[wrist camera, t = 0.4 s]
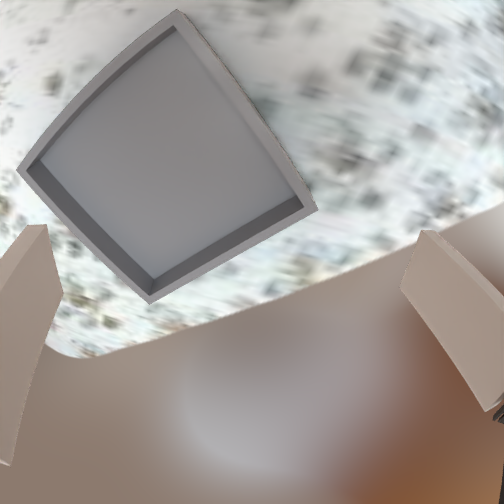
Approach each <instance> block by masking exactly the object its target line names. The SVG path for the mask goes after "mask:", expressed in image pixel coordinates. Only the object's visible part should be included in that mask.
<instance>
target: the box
mask: <svg viewBox="0 0 504 504" xmlns="http://www.w3.org/2000/svg"><path fill="white" fill-rule="evenodd" d="M16 171H17V172H18V173H19V174H20V176H21V177H22V178H23V179H24V180H25V181H26V183H27V184H28V185H29V186H30V187H31V188H32V189H33V191H34V192H35V193H36V194H37V195H38V196H39V197H40V198H41V200H42V201H43V202H44V203H45V204H46V205H47V206H48V207H49V208H50V209H51V211H52V212H53V213H54V214H55V215H56V216H57V217H58V218H59V219H60V220H61V221H62V222H63V223H64V224H65V225H66V226H67V227H68V228H69V229H70V230H71V232H72V233H73V234H74V235H75V236H76V237H77V238H78V239H79V240H80V241H81V242H82V243H83V244H84V245H85V246H86V247H87V248H88V249H89V250H90V251H92V252H93V253H94V254H95V255H96V256H97V257H98V258H99V259H100V260H101V261H102V262H103V263H104V264H105V265H106V266H107V267H108V268H109V269H110V270H111V271H113V272H114V273H115V274H116V275H117V276H118V277H119V278H120V279H121V280H122V281H123V282H124V283H126V284H127V285H128V286H129V287H130V288H131V289H132V290H133V291H135V292H136V293H137V294H138V295H139V296H140V297H141V298H142V299H144V300H145V301H146V302H147V303H148V304H149V305H150V304H151V303H153V302H155V301H157V300H159V299H160V298H162V297H164V296H166V295H167V294H169V293H171V292H173V291H175V290H176V289H178V288H180V287H182V286H183V285H185V284H187V283H189V282H191V281H192V280H194V279H196V278H198V277H199V276H201V275H203V274H205V273H207V272H208V271H210V270H212V269H214V268H215V267H217V266H219V265H221V264H223V263H224V262H226V261H228V260H230V259H232V258H233V257H235V256H237V255H239V254H240V253H242V252H244V251H246V250H248V249H249V248H251V247H253V246H255V245H257V244H258V243H260V242H262V241H264V240H266V239H267V238H269V237H271V236H273V235H274V234H276V233H278V232H280V231H282V230H283V229H285V228H287V227H289V226H291V225H292V224H294V223H296V222H298V221H300V220H301V219H303V218H305V217H307V216H309V215H310V214H312V213H314V212H316V211H318V207H317V205H316V203H315V201H314V199H313V197H312V194H311V192H310V190H309V189H308V187H307V186H306V184H305V182H304V181H303V179H302V178H301V176H300V174H299V173H298V171H297V170H296V168H295V166H294V165H293V163H292V162H291V160H290V159H289V157H288V156H287V154H286V152H285V151H284V149H283V148H282V146H281V145H280V143H279V142H278V140H277V139H276V137H275V136H274V134H273V133H272V131H271V130H270V128H269V127H268V125H267V124H266V122H265V121H264V119H263V118H262V117H261V115H260V114H259V112H258V111H257V109H256V108H255V106H254V105H253V104H252V102H251V101H250V99H249V98H248V96H247V95H246V94H245V92H244V91H243V90H242V88H241V87H240V85H239V84H238V83H237V81H236V80H235V78H234V77H233V76H232V74H231V73H230V72H229V70H228V69H227V68H226V66H225V65H224V64H223V62H222V61H221V60H220V58H219V57H218V56H217V54H216V53H215V52H214V51H213V49H212V48H211V47H210V45H209V44H208V43H207V42H206V40H205V39H204V38H203V37H202V35H201V34H200V33H199V32H198V30H197V29H196V28H195V27H194V25H193V24H192V23H191V22H190V20H189V19H188V18H187V17H186V16H185V14H183V13H182V12H180V11H179V10H177V9H176V10H175V11H173V12H172V13H170V14H169V15H168V16H166V17H165V18H164V19H162V20H161V21H159V22H158V23H157V24H155V25H154V26H153V27H152V28H150V29H149V30H148V31H146V32H145V33H144V34H143V35H141V36H140V37H139V38H138V39H136V40H135V41H134V42H133V43H132V44H130V45H129V46H128V47H127V48H126V49H124V50H123V51H122V52H121V53H120V54H119V55H118V56H116V57H115V58H114V59H113V60H112V61H111V62H110V63H109V64H108V65H107V66H105V67H104V68H103V69H102V70H101V71H100V72H99V73H98V74H97V75H96V76H95V77H94V78H93V79H92V80H91V81H90V82H89V83H88V84H87V85H86V86H85V87H84V88H83V89H82V90H81V91H80V92H79V93H78V94H77V95H76V96H75V97H74V99H73V100H72V101H71V102H70V103H69V104H68V105H67V106H66V107H65V108H64V110H63V111H62V112H61V113H60V114H59V115H58V116H57V118H56V119H55V120H54V121H53V122H52V123H51V125H50V126H49V127H48V128H47V129H46V131H45V132H44V133H43V134H42V136H41V137H40V138H39V139H38V141H37V142H36V143H35V145H34V146H33V147H32V149H31V150H30V151H29V153H28V154H27V155H26V157H25V158H24V159H23V161H22V162H21V164H20V165H19V166H18V168H17V169H16Z"/></svg>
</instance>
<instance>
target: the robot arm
mask: <svg viewBox="0 0 504 504" xmlns="http://www.w3.org/2000/svg"><path fill="white" fill-rule="evenodd" d="M399 288H400V290H401V291H402V292H403V293H404V295H405V296H406V297H407V299H408V300H409V301H410V303H411V304H412V305H413V307H414V308H415V309H416V311H417V312H418V313H419V314H420V316H421V317H422V318H423V320H424V321H425V322H426V324H427V325H428V327H429V328H430V330H432V332H433V334H434V335H435V336H436V338H437V339H438V341H439V342H440V344H441V345H442V347H443V348H444V349H445V350H446V352H447V354H448V355H449V357H450V358H451V359H452V361H453V363H454V364H455V366H456V367H457V368H458V370H459V372H460V373H461V375H462V376H463V378H464V379H465V381H466V382H467V384H468V385H469V387H470V389H471V390H472V392H473V393H474V395H475V397H476V398H477V400H478V401H479V403H480V405H481V406H482V408H483V410H484V411H485V412H486V411H488V410H489V409H491V408H493V407H495V406H496V405H498V404H499V403H500V402H501V401H502V399H503V398H504V297H503V296H502V294H501V293H500V292H499V291H498V290H497V289H496V288H495V287H494V286H493V285H492V284H491V283H490V282H489V281H488V280H487V279H486V278H485V277H484V276H483V275H482V274H481V273H480V272H479V271H478V270H477V269H476V268H475V267H474V266H473V265H472V264H471V263H470V262H469V261H468V260H466V259H465V258H464V257H463V256H462V255H461V254H460V253H459V252H458V251H457V250H456V249H455V248H453V247H452V246H451V245H450V244H449V243H448V242H447V241H446V240H445V239H443V238H442V237H441V236H440V235H439V234H438V233H437V232H436V231H434V230H421V232H420V234H419V237H418V240H417V243H416V245H415V248H414V251H413V253H412V256H411V259H410V261H409V264H408V266H407V269H406V271H405V274H404V277H403V279H402V281H401V283H400V286H399ZM63 294H64V292H63V289H62V286H61V282H60V279H59V275H58V271H57V267H56V263H55V259H54V255H53V251H52V247H51V243H50V238H49V233H48V228H47V224H43V225H27V226H26V228H25V229H24V230H23V231H22V232H21V234H20V235H19V236H18V237H17V239H16V240H15V241H14V242H13V244H12V245H11V246H10V247H9V249H8V250H7V251H6V253H5V254H4V255H3V256H2V258H1V259H0V463H2V464H5V465H8V466H11V464H12V459H13V454H14V448H15V443H16V438H17V433H18V430H19V425H20V421H21V417H22V413H23V409H24V405H25V402H26V398H27V394H28V391H29V388H30V384H31V381H32V378H33V374H34V371H35V368H36V365H37V362H38V359H39V356H40V353H41V350H42V347H43V345H44V342H45V339H46V337H47V334H48V331H49V329H50V326H51V323H52V321H53V318H54V316H55V313H56V311H57V309H58V306H59V304H60V301H61V299H62V297H63ZM502 413H504V405H503V406H502V407H501V408H500V409H499V410H498V411H497V412H496V413H495V414H494V416H493V420H494V421H495V420H496V419H497V418H498V417H499V416H500V415H501V414H502ZM498 422H500V423H503V424H504V414H503V415H502V416H501V417H500V418H499V420H498ZM499 504H504V466H503V477H502V486H501V492H500V499H499Z"/></svg>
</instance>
